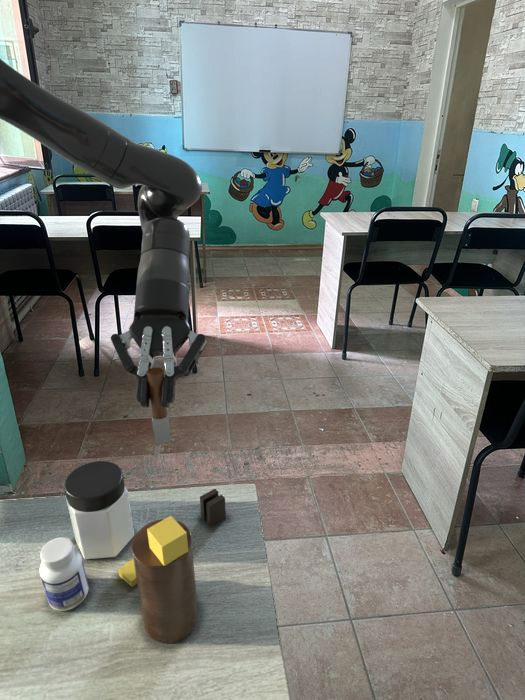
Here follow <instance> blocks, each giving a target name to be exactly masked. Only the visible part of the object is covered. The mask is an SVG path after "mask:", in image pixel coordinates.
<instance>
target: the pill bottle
mask: <svg viewBox="0 0 525 700" xmlns="http://www.w3.org/2000/svg"><path fill="white" fill-rule="evenodd" d="M39 555H40V561H41V563H40V565H39V570H38V571H39V576H40V580H41V583H42V587H43V589H44V592H45V596H46V599H47V602H48V604H49V606H50V607H51V608H52V609H53V610H54V611H59V612H67V611H70V610H73V609H75V608H76V607H78V606H79V605H80V604H82V602H83V601H84V600H85V599H86V597H87V595H88V592H89V581H88V577H87V573H86V570H85V565H84V561H83V556H82V553H81V552H80V551H79V550H78V549H76V548H75V547H74V544H73V541H72V540H71V539H69V538H67V537H61V536H60V537H55V538H53V539H51V540H49V541H48V542H46V543H45V544H44V545H43V547H42V548H41V550H40V553H39Z"/></svg>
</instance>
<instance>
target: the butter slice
mask: <svg viewBox="0 0 525 700" xmlns="http://www.w3.org/2000/svg"><path fill="white" fill-rule="evenodd" d="M117 572H118V576H119V577H120V578H121V579H122V580H123V581H125V583H127V585H129V586H130V587H131V588H133V587H134V586H136V585H137V579H136V572H135V566H134V560H133V558H132V559H131V560H129V561H128V562H126V563H125V564H124V565H123V566H121V567H120V568H119V569H118V571H117Z"/></svg>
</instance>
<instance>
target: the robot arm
mask: <svg viewBox="0 0 525 700" xmlns="http://www.w3.org/2000/svg"><path fill="white" fill-rule="evenodd" d="M0 120H1V121H4V122H5V123H8V124H9V125H11V126H12V127H14V128H16V129H18V130H20V131H22V132H23V133H24V134H26V135H28V136H29V137H32V139H34V140H36V141H37V142H39V143H40V144H42V146H44V147H46V148H48V149H49V150H50V151H52V152H54V153H55V154H56V155H58V156H60V157H61V158H63V159H64V160H66V161H67V162H69V163H71V164H72V165H74V166H75V167H77V168H79V169H81V170H82V171H84V172H86V173H88V174H90V175H91V176H93V177H95V178H96V179H98V180H100V181H102V182H104V183H106V184H108V185H109V186H111V187H113V188H116V189H119V190H124V189H128V188H129V187H130V188H131V187H132V186H136V185H141V187H140V189H139V191H138V192H139V193H138V196H137V211H138V216H139V221H140V223H139V224H140V228H141V231H142V239H141V248H140V249H141V250H140V261H139V265H138V269H137V277H136V288H135V298H134V299H135V300H134V310H133V320H132V323H131V324H130V325H129V328H128V330H127V331H124V332H123V333H121V334H118V333H113V334H112V335H110V341H111V343H112V345H113V348H114V349H115V351H116V354H117V356H118V358H119V360H120V363H121V364H122V367H123V369H124V371H125V372H126V373H127V374H128V375H129V376H130V377H135V378H136V379H137V383H136V396H135V398H136V400H137V402H138V403H139V404H140V406H141V407H142V408H149V407H150V396H149V388H148V379H147V371H148V370H149V369H151V368H153V366H154V363H155V357H161V356H162V357H163V360H164V377H163V388H162V406H163V407H167V408H170V406H171V405H170V404H174V402H175V399H176V384H177V380H178V379H179V378H182V377H188V376H190V374H191V372H192V371H193V369H194V367H195V366H196V364H197V362H198V360H199V359H200V357H201V355H202V354H203V353H204V350H205V349H206V347H207V345H208V342H207V338H206V336H205V334H203V333H199V334H198V333H196V332H194V331H192V328H191V326H190V324H189V309H190V307H189V306H190V290H191V272H190V271H191V270H190V250H191V249H190V248H191V236H190V231H189V228H188V227H187V225H186V224H185V223H184V222H183V221H181V220H179V219H178V218H179V216H180V215H181V214H182V213H185V212H186V210H188V209H190V207H192V206H193V205H194V204H195V203H196V202H198V201H199V199H200V197H201V195H202V192H203V185H202V181H201V178H200V176H199V174H198V172H197V171H196V170H195V169H194V168H193V167H192V166H191V165H190V164H189V163H188V162H186V161H185V160H184V159H182V158H179V157H178V156H176V155H173V154H170V153H167V152H164V151H161V150H159V149H155V148H152V147H150V146H147V145H142V144H139V143H137V142H134V141H132V140H131V139H130V138H128V137H127V136H125V135H124V134H122V133H120V131H117V130H116V129H114V128H112V127H111V126H110V125H107V124H106V123H105V122H103V121H102V120H100V119H98V118H97V117H95V116H93V115H92V114H89V113H88V112H86V111H84V110H83V109H81V108H79V107H77V106H75V105H74V104H71V103H70V102H68V101H66V100H64V99H62V98H61V97H59V96H57V95H55V94H53V93H52V92H50V91H48V90H46V89H45V88H43V87H41V86H40V85H39V84H38V83H35V82H33V81H32V80H30V79H29V78H28V77H26V76H25V75H23V74H22V73H20V72H19V71H17V70H16V69H14V68H13V67H12V66H11V65H10V64H8V63H6V62H5V61H4V60H3V59H2V58H0ZM132 339H133V341H134V342H135V344H136V345H137V347H138V348H139V355H138V358H139V359H138V366H137V365H136V364H135V362H134V360H133V358H132V356H131V354H130V352H129V350H130V348H131V347H132V344H131V341H132ZM187 341H188V346H189V348H188V350H187V351H186V354H184V357H183V359H182V360H181V362H180V363H179V365H177V364H178V361H177V353H178V351H180V349H181V348H182V347H183V346H184V345H185V343H186V342H187Z"/></svg>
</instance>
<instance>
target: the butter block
mask: <svg viewBox="0 0 525 700" xmlns="http://www.w3.org/2000/svg"><path fill="white" fill-rule="evenodd" d="M163 519H164V520H162V521H161V522H159V523H157V524H155V525H153V526H152V527H150V528H148V529H147V533H148V540H149V547H150V549H151V550H152V551H153V553H154V554H155V555H156V556H157V558H158V559H159V560H160V561H161V563H162V564H163V565H164V566H166V565H167V564H169V563H170V562H172V561H174V560H175V559H177V558H178V557H180V556H182V555H183V554H185V553H186V552H188V542H187V533H186V531H185V530H184V529H183V528H182V527H181V526H180V525H179V524H178V523H177V521H178V520H177V519H175V518H174V517H173V516H172V515H169V516H168V517H166V518H163ZM176 520H177V521H176Z"/></svg>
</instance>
